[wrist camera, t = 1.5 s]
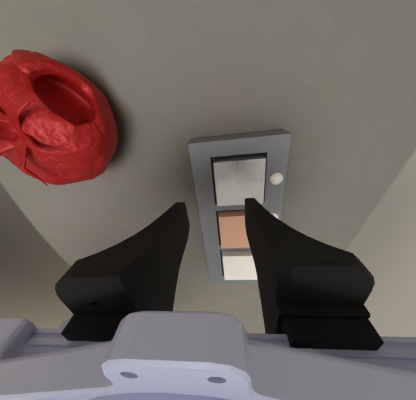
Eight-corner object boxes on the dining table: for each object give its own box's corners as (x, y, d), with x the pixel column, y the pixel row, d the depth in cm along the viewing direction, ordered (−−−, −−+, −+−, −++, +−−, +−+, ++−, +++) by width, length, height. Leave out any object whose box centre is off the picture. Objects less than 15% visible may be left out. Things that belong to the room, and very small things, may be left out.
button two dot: (256, 268, 25) (259, 279, 23) (224, 268, 25) (224, 280, 24) (257, 244, 22) (260, 255, 21) (222, 245, 23) (222, 256, 21)
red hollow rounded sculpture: (124, 179, 21) (65, 230, 13) (35, 146, 19) (-91, 182, 12) (138, 89, 16) (57, 84, 8) (20, 36, 14) (-222, -35, 7)
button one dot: (259, 194, 19) (263, 203, 17) (217, 197, 19) (217, 206, 18) (261, 152, 17) (265, 158, 15) (213, 157, 17) (213, 162, 15)
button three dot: (258, 236, 22) (260, 247, 20) (221, 238, 22) (221, 248, 21) (259, 205, 19) (262, 214, 18) (218, 208, 20) (218, 217, 18)
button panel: (269, 267, 27) (273, 283, 24) (211, 268, 28) (210, 283, 25) (282, 129, 17) (292, 133, 14) (191, 138, 18) (187, 144, 15)
